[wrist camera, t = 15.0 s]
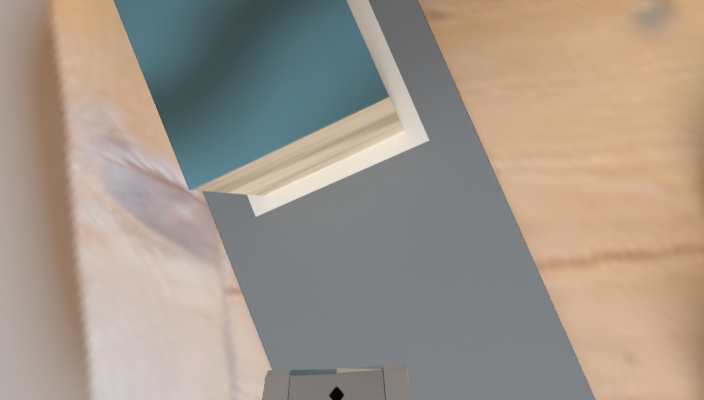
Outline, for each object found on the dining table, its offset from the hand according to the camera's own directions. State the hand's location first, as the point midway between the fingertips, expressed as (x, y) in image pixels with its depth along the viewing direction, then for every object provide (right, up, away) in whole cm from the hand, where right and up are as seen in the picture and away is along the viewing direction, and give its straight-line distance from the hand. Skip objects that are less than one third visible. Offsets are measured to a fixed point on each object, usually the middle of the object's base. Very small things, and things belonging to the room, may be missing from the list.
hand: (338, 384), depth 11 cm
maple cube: (-4, +10, +10) cm, 15 cm away
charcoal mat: (+1, +2, +18) cm, 18 cm away
